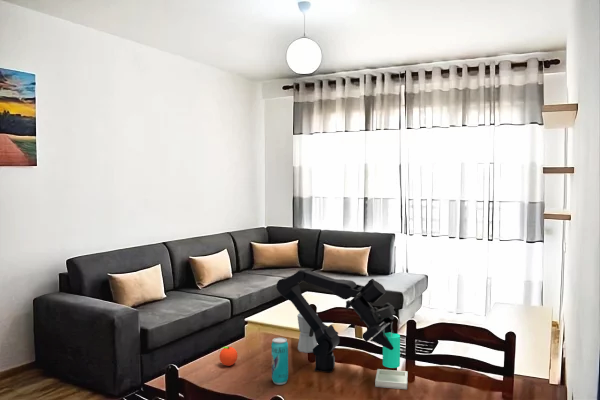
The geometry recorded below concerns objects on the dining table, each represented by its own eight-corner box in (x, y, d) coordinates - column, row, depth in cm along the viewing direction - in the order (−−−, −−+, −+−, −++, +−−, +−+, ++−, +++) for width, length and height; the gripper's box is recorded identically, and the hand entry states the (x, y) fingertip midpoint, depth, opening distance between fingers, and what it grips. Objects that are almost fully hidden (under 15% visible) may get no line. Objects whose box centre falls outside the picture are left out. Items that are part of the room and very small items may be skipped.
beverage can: (268, 381, 170) (268, 339, 170) (282, 377, 174) (281, 336, 173) (278, 387, 166) (277, 343, 165) (291, 382, 169) (291, 340, 169)
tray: (375, 386, 165) (375, 380, 165) (377, 374, 176) (377, 368, 176) (407, 389, 163) (407, 383, 163) (407, 376, 173) (407, 371, 173)
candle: (396, 369, 165) (396, 334, 165) (379, 365, 168) (380, 331, 168) (402, 363, 170) (402, 329, 170) (386, 360, 173) (386, 327, 173)
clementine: (213, 366, 184) (213, 348, 184) (223, 360, 191) (222, 342, 190) (232, 369, 181) (231, 350, 181) (241, 363, 188) (240, 344, 187)
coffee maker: (294, 345, 207) (293, 303, 207) (314, 343, 210) (313, 302, 209) (302, 357, 193) (302, 312, 192) (323, 355, 195) (323, 311, 194)
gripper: (371, 303, 162) (403, 341, 157) (389, 291, 178) (418, 325, 174) (349, 323, 166) (380, 360, 161) (368, 309, 182) (397, 343, 178)
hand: (395, 346), depth 168 cm, fingers closed on candle, 5 cm apart
